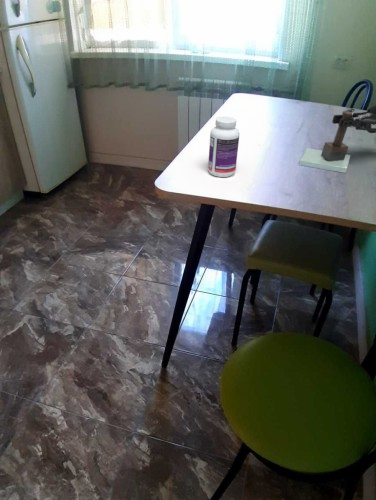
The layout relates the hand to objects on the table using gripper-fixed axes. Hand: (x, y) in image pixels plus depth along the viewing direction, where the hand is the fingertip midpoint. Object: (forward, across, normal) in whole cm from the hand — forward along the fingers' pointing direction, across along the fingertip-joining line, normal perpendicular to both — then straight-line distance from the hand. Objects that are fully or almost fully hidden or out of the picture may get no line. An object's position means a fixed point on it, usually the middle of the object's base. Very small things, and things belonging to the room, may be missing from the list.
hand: (336, 121), depth 120 cm
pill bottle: (+34, -1, +13) cm, 37 cm away
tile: (-1, -2, +13) cm, 13 cm away
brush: (-3, 0, +11) cm, 11 cm away
